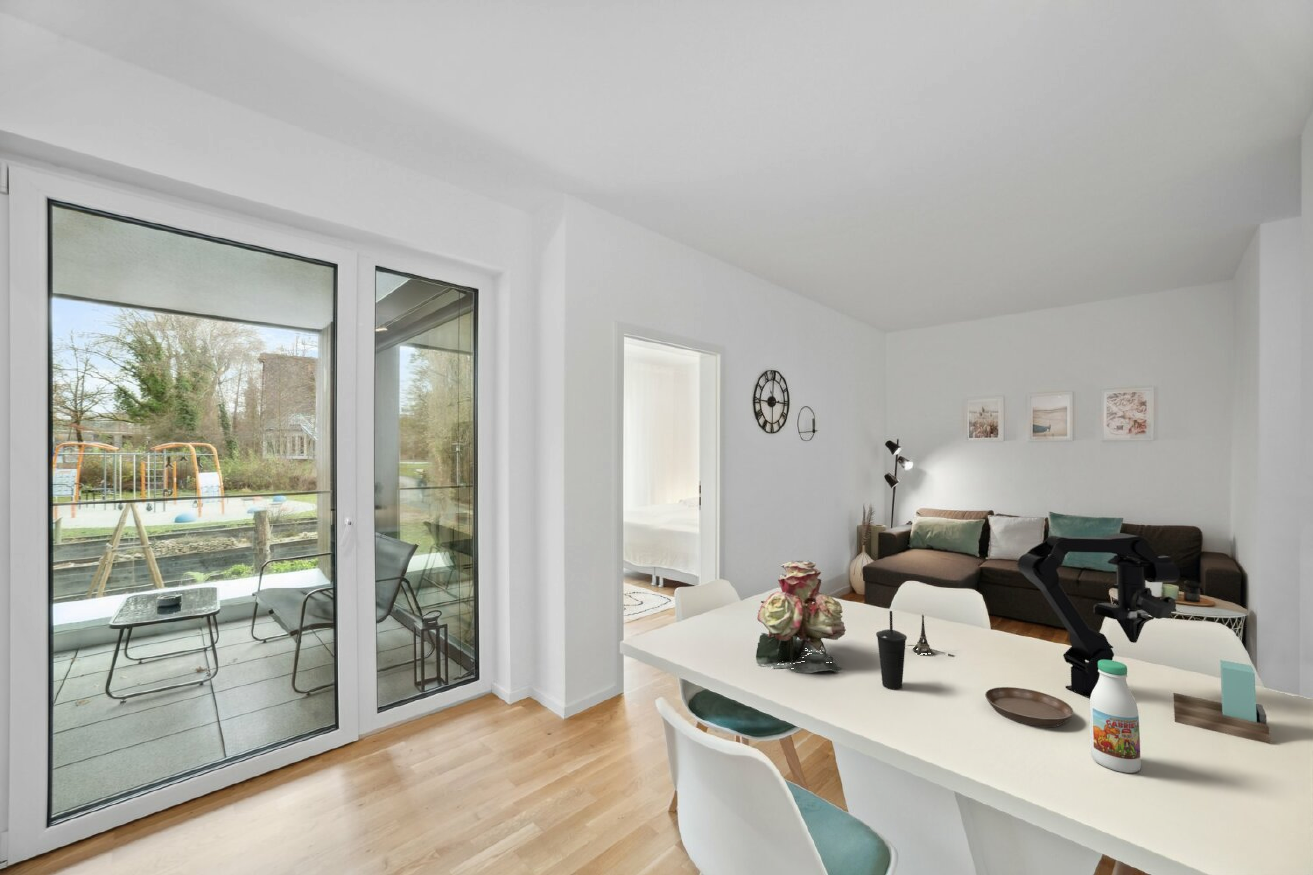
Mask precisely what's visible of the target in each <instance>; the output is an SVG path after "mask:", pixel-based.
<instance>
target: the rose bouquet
mask: <svg viewBox="0 0 1313 875" xmlns="http://www.w3.org/2000/svg"><path fill="white" fill-rule="evenodd" d="M816 565H817V564H816V562H815V561H811V560H810V559H809V560H808V561H804V560H795V561H793V560H791V561H788V562H786V563H783V564H781V565H780V567H781V568H783V569H784V570H785V572H786V574H783V573H782V574H780V576H779V579H778V580H777V581H778V584H779V588H780V590H781V591H780V590H777V591H775V592H773V593H771V594H770V595H769V596H768V597H767V599H766V600H760V603H761V605H760V607H759V609H758V612H757V617H756V618H757V621H758V622H760V623H762V624H763V625H764V627H765V628H766V629H767V630H768V633H765V632H761V635H760V636H759V638H758V639H759V640H758V642H757V647H756V654H755V660H756V663H757V665H758V666H760V667H763V668H771V667H772V669H773V668H775V669H789V670H791V671H793V672H795V673H801V674H803V673H804V674H812V673H817V672H823V671H824V672H825V671H833V673H836V674H839V672H840V670H841V667H840V666H839V665H838V664H837V663H836V662H835V661H834V658H833V657H831V656H832V655H828V653H827V649H826V647H825V645H824V644H825V643H824V641H823V639H826V640H833V641H838V640H839V639H840V638H842V637H843V636H844V635H845V633H846V631H847V630H846V629H847V628H846V627H845V623H844V621H842V618H843V615H841V614H843V607H842V605H841V603H840V601H838V600H835V599H834V598H833V597H832V596H831V595H829V594H827V593H823V592H819V591H820V588H821V585H822V579H820V578H818V577H819V576H820V575H821V573H822V571H820V570H819V569H817V568H815V566H816ZM805 648H807V649H808V653H812V654H809V655H807V656H802V654H803V653H804V652H806V651H805V650H807V649H805ZM822 649H823V650H824V651H822ZM803 650H804V651H803ZM811 650H812V651H811ZM820 650H821V652H820ZM809 651H810V652H809ZM816 651H817V652H816ZM801 653H802V654H801ZM820 653H823V654H820ZM829 656H830V657H829ZM800 657H804V658H800ZM796 658H797V659H801V660H800V661H805V662H801V663H795V662H796V660H797V659H796ZM782 661H785V662H786V663H787V664H784V665H781V663H780V662H782ZM833 661H834V662H835V663H834V662H833ZM826 662H829V663H826ZM830 662H832V663H830ZM778 663H779V665H777V664H778ZM782 663H783V662H782ZM790 663H791V664H790ZM793 663H795V664H793ZM791 668H794V669H791Z"/></svg>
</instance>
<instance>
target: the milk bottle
mask: <svg viewBox="0 0 1313 875" xmlns="http://www.w3.org/2000/svg"><path fill="white" fill-rule="evenodd" d="M1098 672H1099V673H1100V676H1099V680H1098V682H1097V684H1096V686H1095V687H1094V689H1093V691H1092V693H1091V697H1090V698H1089V699H1090V700H1089V726H1090V727H1089V731H1090V734H1089V735H1090V736H1089V737H1090V739H1089V740H1090V754H1091V758H1092V759H1093V760H1094V761H1095V762H1096V763H1097V764H1098V765H1101V766H1102V767H1104V768H1107V769H1110V770H1113V771H1117V772H1120V773H1125V774H1126V773H1127V774H1133V773H1134V774H1135V773H1138V772H1139V771H1140V770H1141V740H1140V734H1141V733H1140V717H1139V709H1138V705H1137V702H1136V699H1135V697H1134V696H1133V694H1132V692H1131V689H1130V688H1129V686H1128V683H1127V682H1128V681H1127V678H1128V666H1127V665H1126V664H1124V663H1122V662H1120V661H1116V660H1099V661H1098Z"/></svg>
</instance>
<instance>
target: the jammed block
mask: <svg viewBox="0 0 1313 875" xmlns="http://www.w3.org/2000/svg"><path fill="white" fill-rule="evenodd" d="M1219 664H1220V684H1221V685H1220V686H1221V703H1222V713H1223V715H1226V716H1231V717H1235V718H1240V719H1244V720H1249V721H1253V722H1257V717H1256V704H1257V698H1256V696H1257V694H1256V672H1255V671H1254V667H1253V666H1252V665H1251V664H1244V663H1239V662H1234V661H1228V660H1223V659H1221V660H1220V663H1219Z"/></svg>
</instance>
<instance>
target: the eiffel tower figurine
mask: <svg viewBox="0 0 1313 875" xmlns="http://www.w3.org/2000/svg"><path fill="white" fill-rule="evenodd" d="M925 628H926V627H925V615H924V614H921V631H920V635H919V639H918V641H917V644H915V645H914V644H909V645H907V646H915V647H914V648H913V649H911V651H912V652H913V653H914V654H915V653H917V655H920V654H921V653H927V655H925V654H923V655H920V656H923V657H936V655H935V654H934V652H935V653H937V652H938V653H941V654H942V653H943V654H945V652H943V651H940V650H937V649H933V648H931V646H930V644H929V643H928V640H927V636H926V630H925ZM917 648H918V650H916V649H917ZM928 653H931V654H928ZM917 655H916V656H917ZM947 657H950V658H951V657H952V658H955V657H956V655H954V654H951V653H948V656H947Z"/></svg>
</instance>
